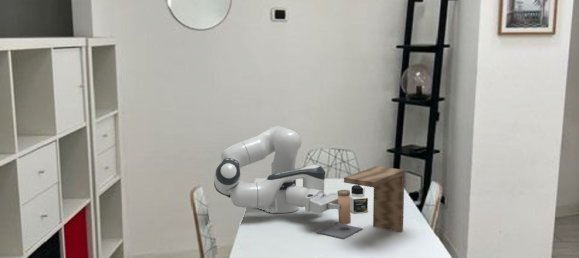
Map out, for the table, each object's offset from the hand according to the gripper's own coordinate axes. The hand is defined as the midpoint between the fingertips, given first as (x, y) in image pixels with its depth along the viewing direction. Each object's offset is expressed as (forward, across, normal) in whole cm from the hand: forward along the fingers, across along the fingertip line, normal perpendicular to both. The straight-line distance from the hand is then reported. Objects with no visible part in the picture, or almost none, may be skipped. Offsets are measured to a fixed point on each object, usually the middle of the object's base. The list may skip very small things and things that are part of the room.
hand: (344, 205), depth 238 cm
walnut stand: (+14, -1, -11) cm, 17 cm away
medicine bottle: (-10, -28, -11) cm, 32 cm away
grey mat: (-1, +2, -11) cm, 11 cm away
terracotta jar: (0, 0, -7) cm, 7 cm away
